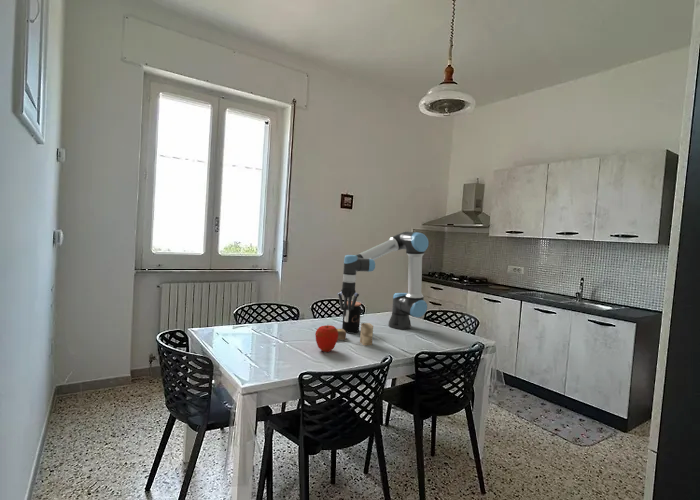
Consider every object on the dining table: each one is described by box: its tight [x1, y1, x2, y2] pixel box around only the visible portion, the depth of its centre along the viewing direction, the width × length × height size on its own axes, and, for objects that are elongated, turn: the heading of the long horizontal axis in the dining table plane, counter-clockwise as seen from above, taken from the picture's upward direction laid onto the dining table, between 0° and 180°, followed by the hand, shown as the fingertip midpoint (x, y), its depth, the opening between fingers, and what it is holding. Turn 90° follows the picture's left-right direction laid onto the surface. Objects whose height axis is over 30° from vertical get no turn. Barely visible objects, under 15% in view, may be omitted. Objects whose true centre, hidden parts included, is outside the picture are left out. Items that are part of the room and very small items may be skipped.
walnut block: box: [336, 328, 347, 341], centre depth 229 cm, size 5×6×11 cm
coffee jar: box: [341, 300, 362, 334], centre depth 246 cm, size 11×11×18 cm
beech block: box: [359, 322, 374, 346], centre depth 223 cm, size 5×6×11 cm
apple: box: [315, 324, 338, 353], centre depth 205 cm, size 12×12×14 cm
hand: (346, 321), depth 230 cm, fingers closed
